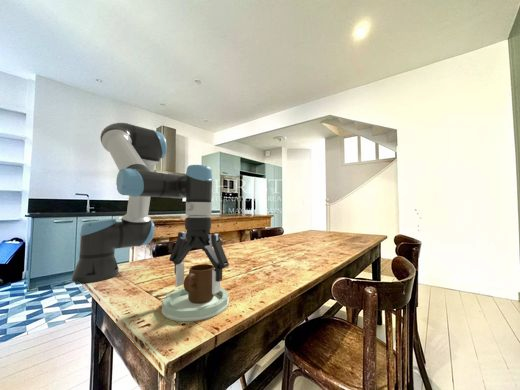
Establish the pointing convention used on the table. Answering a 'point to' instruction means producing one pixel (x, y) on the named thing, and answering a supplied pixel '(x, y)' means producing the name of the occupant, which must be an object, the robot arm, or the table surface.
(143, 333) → the table surface
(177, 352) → the table surface
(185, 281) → the mug
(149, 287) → the table surface
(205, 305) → the shallow round dish
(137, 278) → the table surface
